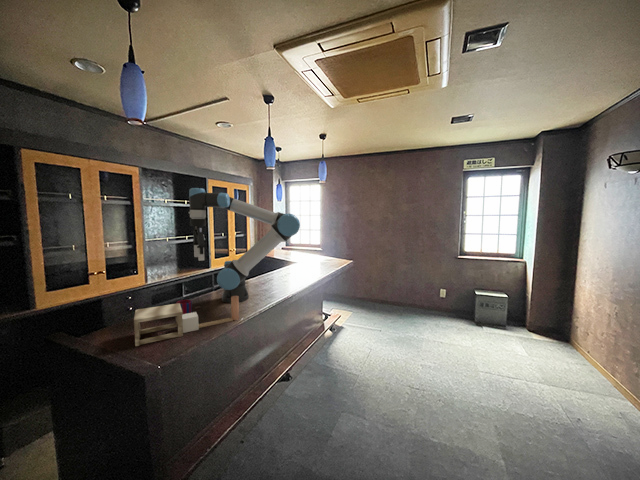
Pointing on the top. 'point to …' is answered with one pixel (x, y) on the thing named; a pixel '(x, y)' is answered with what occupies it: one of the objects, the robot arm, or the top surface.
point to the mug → (186, 306)
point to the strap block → (192, 322)
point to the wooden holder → (155, 314)
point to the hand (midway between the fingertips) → (199, 258)
